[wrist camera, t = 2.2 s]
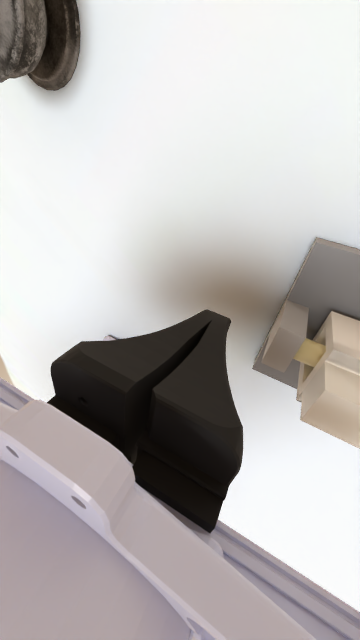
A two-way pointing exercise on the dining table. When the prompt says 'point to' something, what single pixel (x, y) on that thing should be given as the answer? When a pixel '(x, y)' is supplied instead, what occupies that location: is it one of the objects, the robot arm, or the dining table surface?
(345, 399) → the sleeve
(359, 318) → the comb rail
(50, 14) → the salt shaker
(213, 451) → the robot arm
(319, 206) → the dining table surface
